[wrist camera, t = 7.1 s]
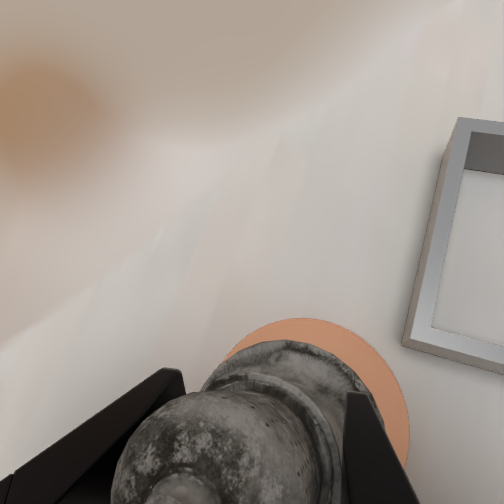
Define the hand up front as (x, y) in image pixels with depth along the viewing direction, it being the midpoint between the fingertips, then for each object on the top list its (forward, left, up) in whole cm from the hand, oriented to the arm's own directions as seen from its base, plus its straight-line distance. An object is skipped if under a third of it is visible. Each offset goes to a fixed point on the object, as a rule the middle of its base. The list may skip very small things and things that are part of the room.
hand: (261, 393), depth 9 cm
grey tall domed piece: (-1, 0, -7) cm, 8 cm away
